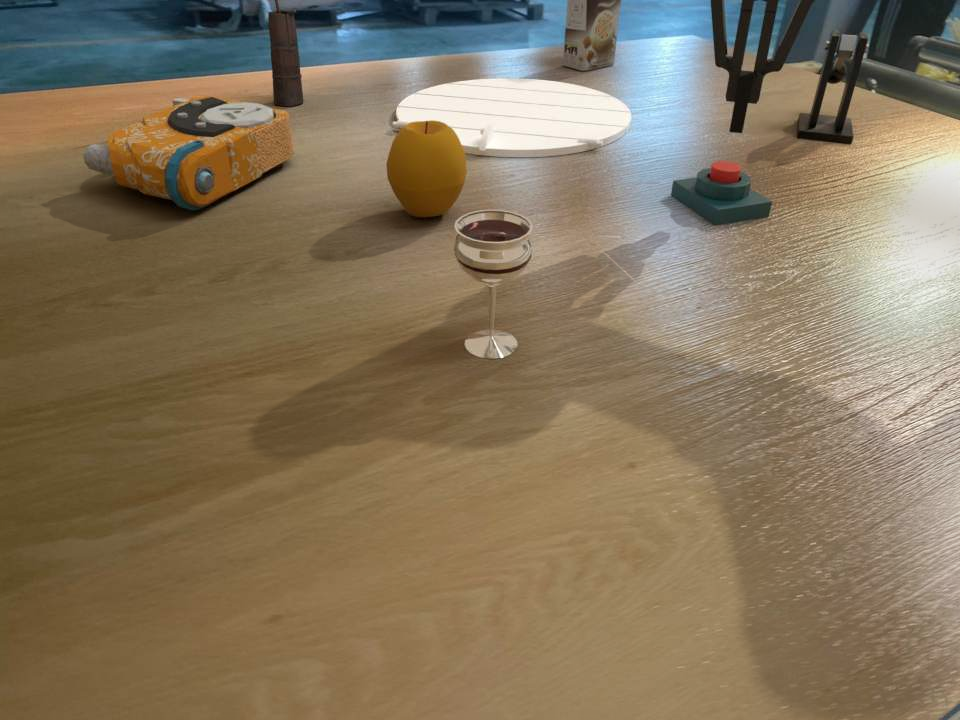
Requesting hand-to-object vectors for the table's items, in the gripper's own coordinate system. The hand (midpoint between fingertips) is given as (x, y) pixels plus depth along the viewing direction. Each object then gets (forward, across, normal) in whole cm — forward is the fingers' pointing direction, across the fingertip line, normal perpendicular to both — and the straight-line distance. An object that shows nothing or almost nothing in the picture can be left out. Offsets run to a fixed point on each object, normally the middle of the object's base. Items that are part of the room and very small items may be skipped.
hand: (736, 129), depth 92 cm
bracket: (+10, -13, -37) cm, 41 cm away
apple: (+10, +34, +16) cm, 39 cm away
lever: (+2, -13, -40) cm, 42 cm away
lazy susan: (+10, +36, -26) cm, 46 cm away
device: (+9, +70, +12) cm, 71 cm away
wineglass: (+10, +18, +40) cm, 45 cm away
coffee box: (+10, +32, -64) cm, 73 cm away
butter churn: (+9, +75, -20) cm, 78 cm away
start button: (+6, 0, 0) cm, 6 cm away
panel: (+10, 0, 0) cm, 10 cm away
